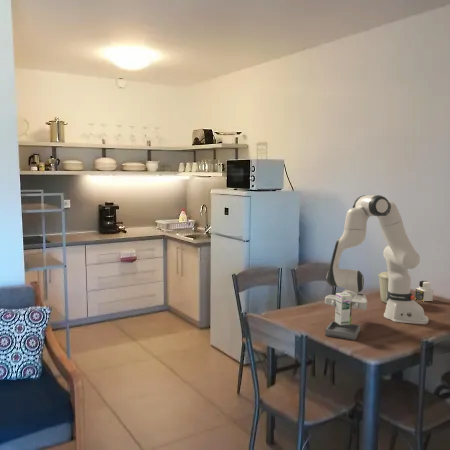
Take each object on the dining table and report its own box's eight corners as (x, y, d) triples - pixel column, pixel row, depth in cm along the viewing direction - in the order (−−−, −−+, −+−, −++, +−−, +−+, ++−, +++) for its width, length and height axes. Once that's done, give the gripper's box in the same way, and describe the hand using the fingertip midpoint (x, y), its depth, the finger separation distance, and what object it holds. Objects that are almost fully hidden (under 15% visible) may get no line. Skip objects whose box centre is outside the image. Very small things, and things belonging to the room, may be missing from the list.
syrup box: (340, 325, 220) (342, 295, 218) (334, 321, 226) (335, 292, 224) (351, 324, 222) (352, 295, 220) (344, 320, 227) (346, 291, 226)
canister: (383, 297, 292) (384, 264, 290) (412, 302, 281) (414, 268, 279) (372, 302, 279) (373, 268, 276) (402, 308, 267) (404, 272, 265)
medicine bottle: (414, 299, 288) (416, 280, 286) (424, 298, 290) (425, 279, 289) (423, 302, 281) (424, 283, 280) (432, 301, 283) (433, 282, 282)
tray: (360, 331, 228) (360, 325, 227) (355, 340, 215) (355, 333, 215) (331, 326, 234) (331, 321, 233) (325, 335, 221) (325, 329, 221)
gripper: (328, 290, 238) (321, 296, 226) (369, 295, 230) (365, 302, 218) (327, 302, 239) (321, 309, 227) (368, 308, 231) (364, 315, 218)
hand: (343, 306), depth 222 cm, fingers closed on syrup box, 8 cm apart
